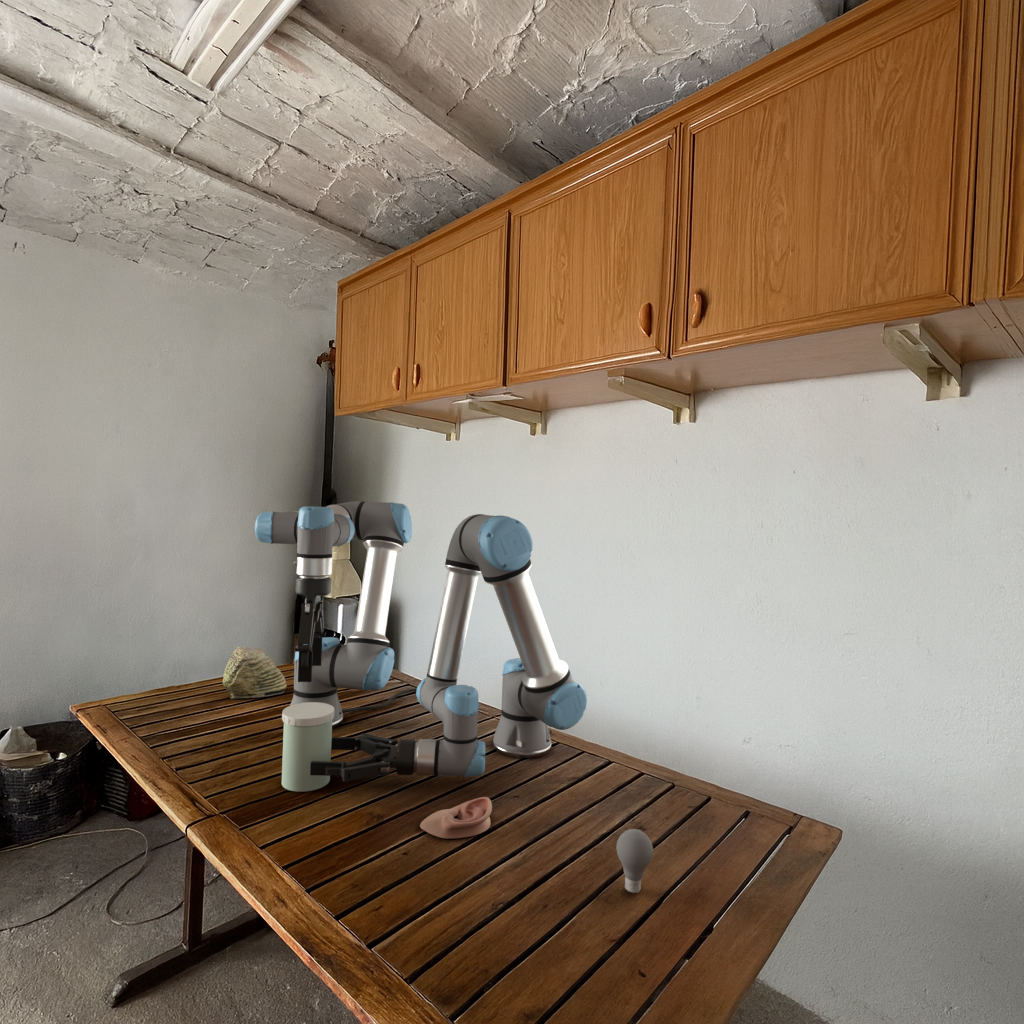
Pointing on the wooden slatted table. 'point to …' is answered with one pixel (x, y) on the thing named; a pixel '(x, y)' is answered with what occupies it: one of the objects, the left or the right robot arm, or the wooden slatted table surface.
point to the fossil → (252, 674)
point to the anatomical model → (460, 820)
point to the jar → (305, 755)
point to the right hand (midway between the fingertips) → (318, 755)
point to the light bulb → (634, 857)
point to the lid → (308, 714)
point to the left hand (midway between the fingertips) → (310, 673)
